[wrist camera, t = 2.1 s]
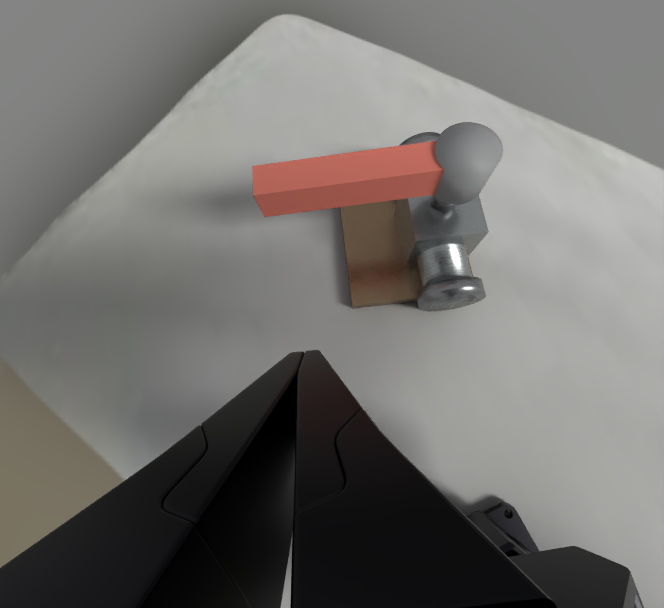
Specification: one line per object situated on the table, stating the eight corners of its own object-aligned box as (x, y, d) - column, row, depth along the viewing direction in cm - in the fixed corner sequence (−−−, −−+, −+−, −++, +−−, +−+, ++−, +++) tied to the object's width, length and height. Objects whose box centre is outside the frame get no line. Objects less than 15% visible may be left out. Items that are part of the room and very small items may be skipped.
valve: (475, 307, 22) (523, 275, 16) (353, 321, 23) (353, 295, 16) (442, 171, 25) (471, 99, 19) (337, 185, 26) (331, 120, 20)
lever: (489, 200, 17) (510, 170, 14) (266, 229, 17) (252, 205, 15) (475, 153, 18) (493, 118, 15) (264, 182, 18) (250, 152, 16)
